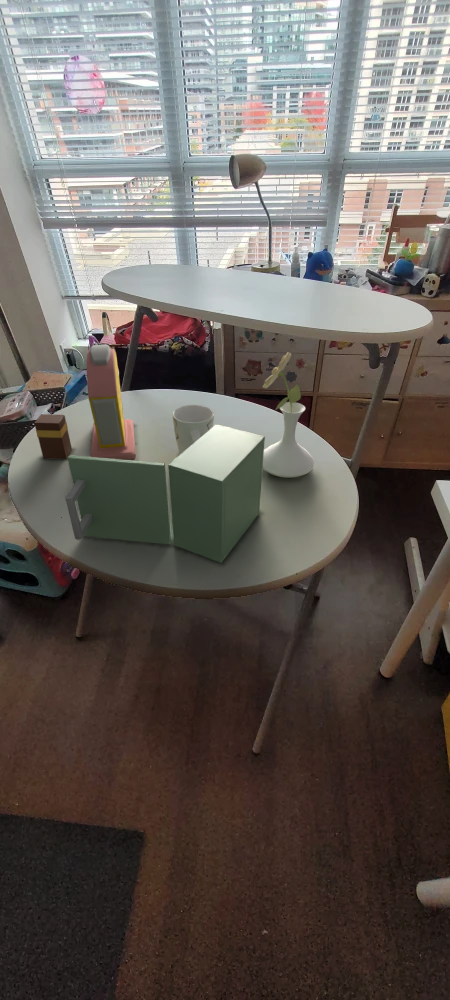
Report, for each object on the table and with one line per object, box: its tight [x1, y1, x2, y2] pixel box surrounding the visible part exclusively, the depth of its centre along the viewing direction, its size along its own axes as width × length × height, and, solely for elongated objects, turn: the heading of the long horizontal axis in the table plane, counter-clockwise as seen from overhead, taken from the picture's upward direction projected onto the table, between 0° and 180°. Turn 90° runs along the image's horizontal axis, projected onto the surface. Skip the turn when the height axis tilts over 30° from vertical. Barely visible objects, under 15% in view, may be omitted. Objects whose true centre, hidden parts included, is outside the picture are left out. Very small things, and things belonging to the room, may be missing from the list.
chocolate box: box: [33, 413, 73, 460], centre depth 97 cm, size 5×4×8 cm
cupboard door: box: [64, 454, 172, 546], centre depth 70 cm, size 6×15×16 cm, turn 82°
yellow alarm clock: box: [86, 344, 137, 460], centre depth 97 cm, size 22×9×22 cm, turn 11°
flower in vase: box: [262, 351, 315, 479], centre depth 88 cm, size 13×11×25 cm
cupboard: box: [167, 424, 266, 564], centre depth 75 cm, size 9×15×16 cm, turn 152°
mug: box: [172, 404, 215, 455], centre depth 95 cm, size 11×8×10 cm
